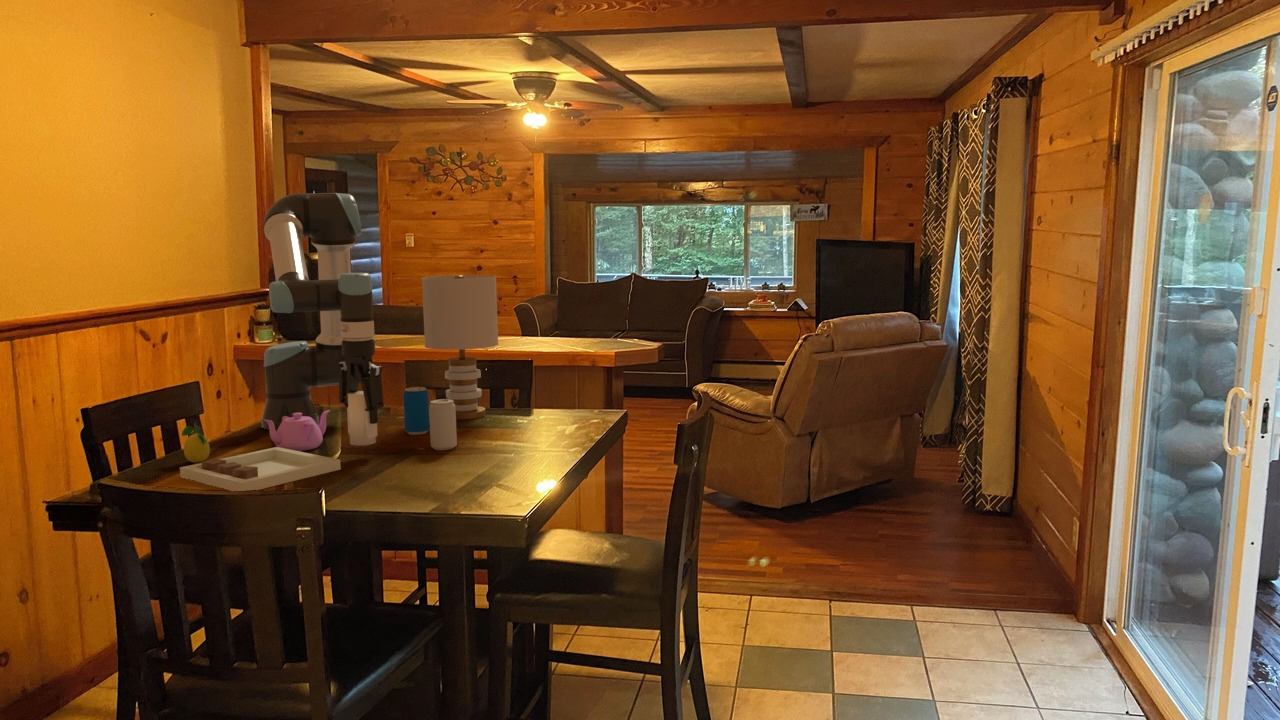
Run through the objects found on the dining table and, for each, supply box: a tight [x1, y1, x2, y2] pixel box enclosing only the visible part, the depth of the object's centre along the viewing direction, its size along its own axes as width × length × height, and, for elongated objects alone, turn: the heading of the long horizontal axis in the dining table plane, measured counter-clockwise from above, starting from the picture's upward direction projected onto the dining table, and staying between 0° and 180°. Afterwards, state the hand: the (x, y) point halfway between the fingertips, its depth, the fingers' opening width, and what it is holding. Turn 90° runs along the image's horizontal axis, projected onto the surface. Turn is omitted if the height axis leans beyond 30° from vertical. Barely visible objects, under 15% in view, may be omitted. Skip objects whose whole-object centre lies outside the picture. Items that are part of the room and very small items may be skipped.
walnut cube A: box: [200, 458, 226, 473], centre depth 211 cm, size 4×4×4 cm
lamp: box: [421, 274, 499, 421], centre depth 280 cm, size 21×21×41 cm
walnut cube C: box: [232, 466, 258, 480], centre depth 204 cm, size 4×4×4 cm
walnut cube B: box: [217, 462, 241, 476], centre depth 208 cm, size 4×4×4 cm
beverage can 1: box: [403, 386, 430, 436], centre depth 258 cm, size 6×6×12 cm
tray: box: [179, 446, 342, 492], centre depth 214 cm, size 24×24×3 cm
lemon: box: [181, 423, 211, 464], centre depth 225 cm, size 7×6×10 cm
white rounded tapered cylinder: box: [348, 390, 377, 447], centre depth 229 cm, size 6×6×12 cm
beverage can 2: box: [429, 398, 458, 451], centre depth 239 cm, size 6×6×12 cm
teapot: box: [263, 409, 331, 452], centre depth 243 cm, size 12×14×9 cm
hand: (362, 434), depth 230 cm, fingers closed on white rounded tapered cylinder, 6 cm apart
